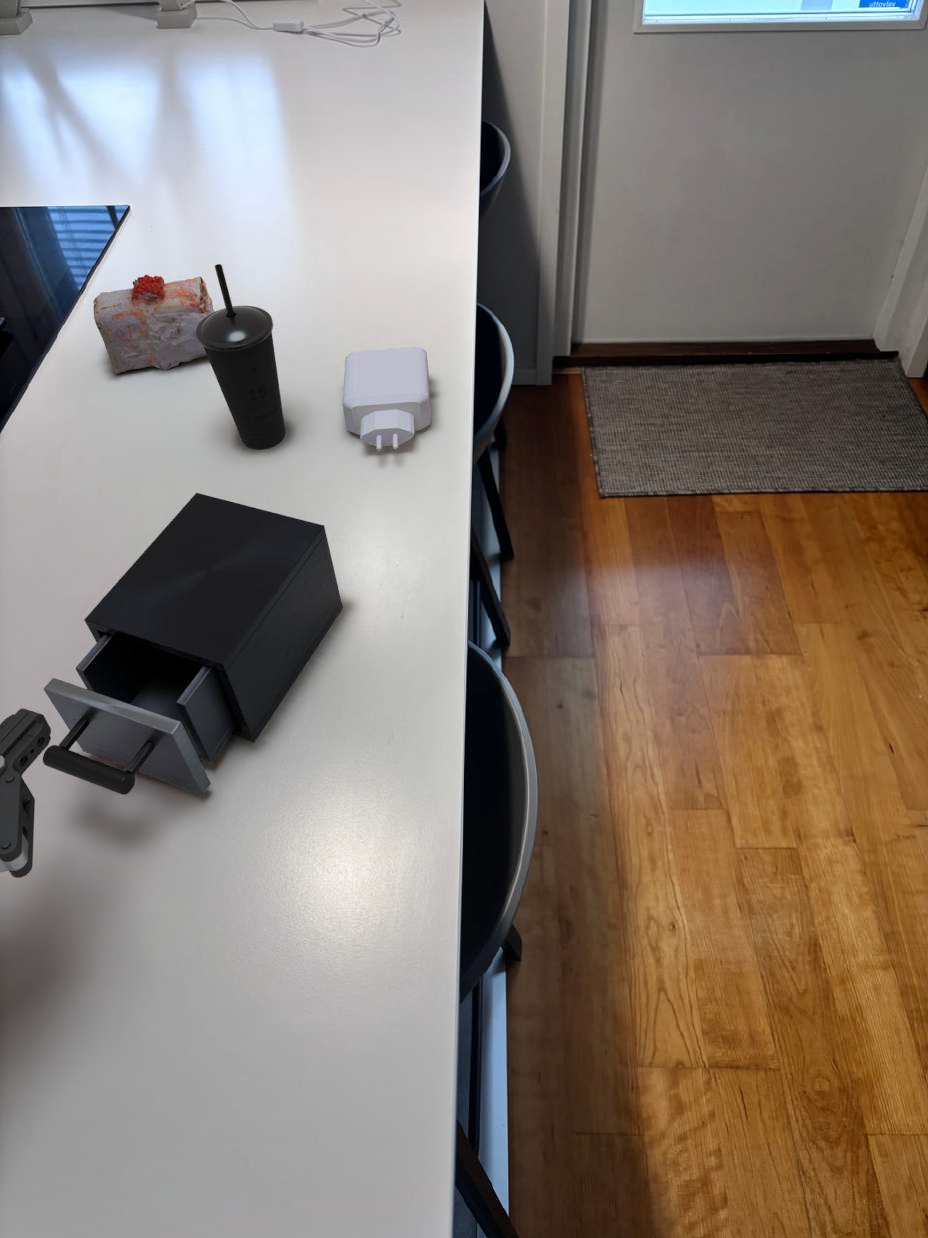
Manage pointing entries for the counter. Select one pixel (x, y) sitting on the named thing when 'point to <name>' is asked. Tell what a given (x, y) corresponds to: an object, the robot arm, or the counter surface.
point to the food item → (153, 322)
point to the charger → (386, 395)
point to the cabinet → (230, 600)
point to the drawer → (140, 717)
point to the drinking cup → (245, 368)
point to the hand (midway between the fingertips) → (37, 719)
